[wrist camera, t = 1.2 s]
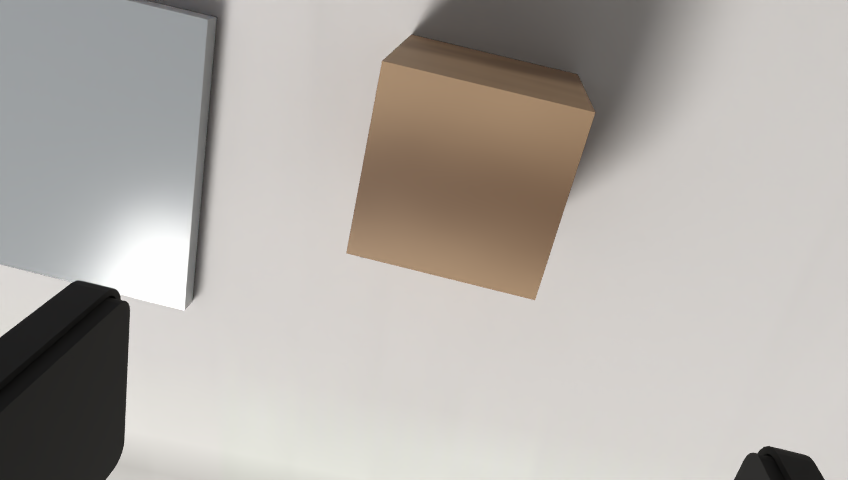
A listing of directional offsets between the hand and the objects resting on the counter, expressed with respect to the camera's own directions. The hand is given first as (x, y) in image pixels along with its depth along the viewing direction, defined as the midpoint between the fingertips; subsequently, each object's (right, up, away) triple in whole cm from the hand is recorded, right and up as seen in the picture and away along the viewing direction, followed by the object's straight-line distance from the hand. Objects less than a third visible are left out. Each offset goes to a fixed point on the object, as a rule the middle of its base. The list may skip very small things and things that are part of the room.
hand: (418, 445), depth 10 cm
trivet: (-14, +7, +17) cm, 24 cm away
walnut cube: (+2, +7, +15) cm, 17 cm away
